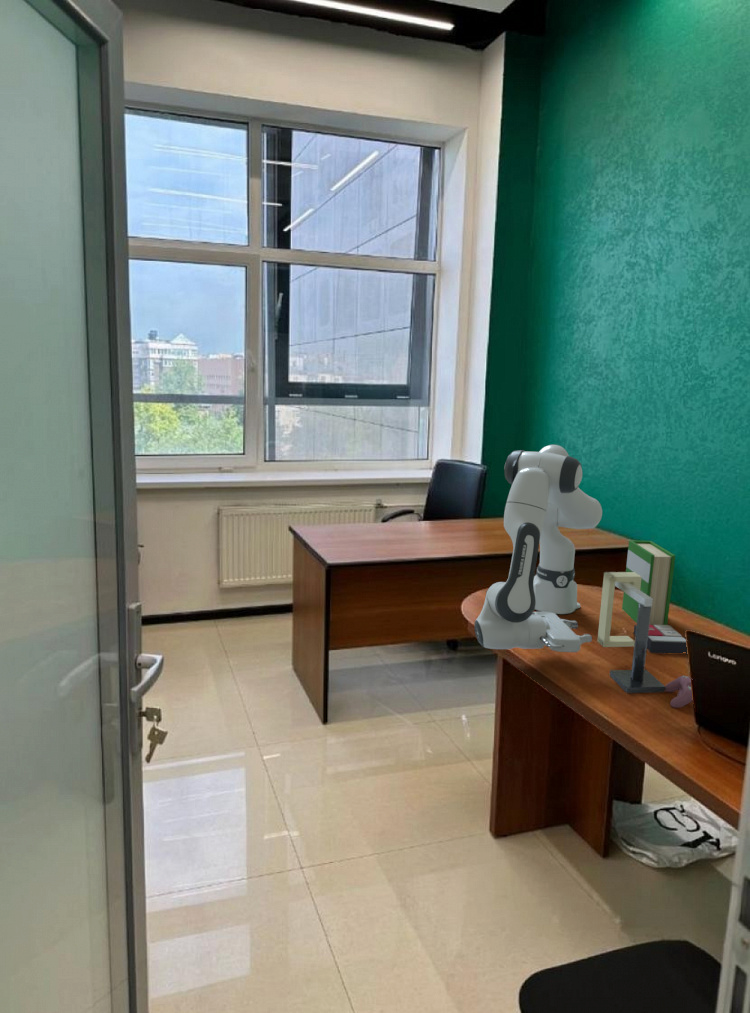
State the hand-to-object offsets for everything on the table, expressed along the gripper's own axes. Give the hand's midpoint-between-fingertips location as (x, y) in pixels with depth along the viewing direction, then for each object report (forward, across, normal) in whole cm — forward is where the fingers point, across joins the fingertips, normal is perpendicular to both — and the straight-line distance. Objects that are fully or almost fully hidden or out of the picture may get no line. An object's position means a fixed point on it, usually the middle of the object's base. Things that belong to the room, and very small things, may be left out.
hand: (583, 631), depth 191 cm
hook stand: (+9, -6, +9) cm, 14 cm away
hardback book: (+34, +31, +9) cm, 47 cm away
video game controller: (+16, -24, +9) cm, 30 cm away
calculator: (+29, +12, +10) cm, 33 cm away
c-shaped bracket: (+9, 0, +4) cm, 10 cm away
